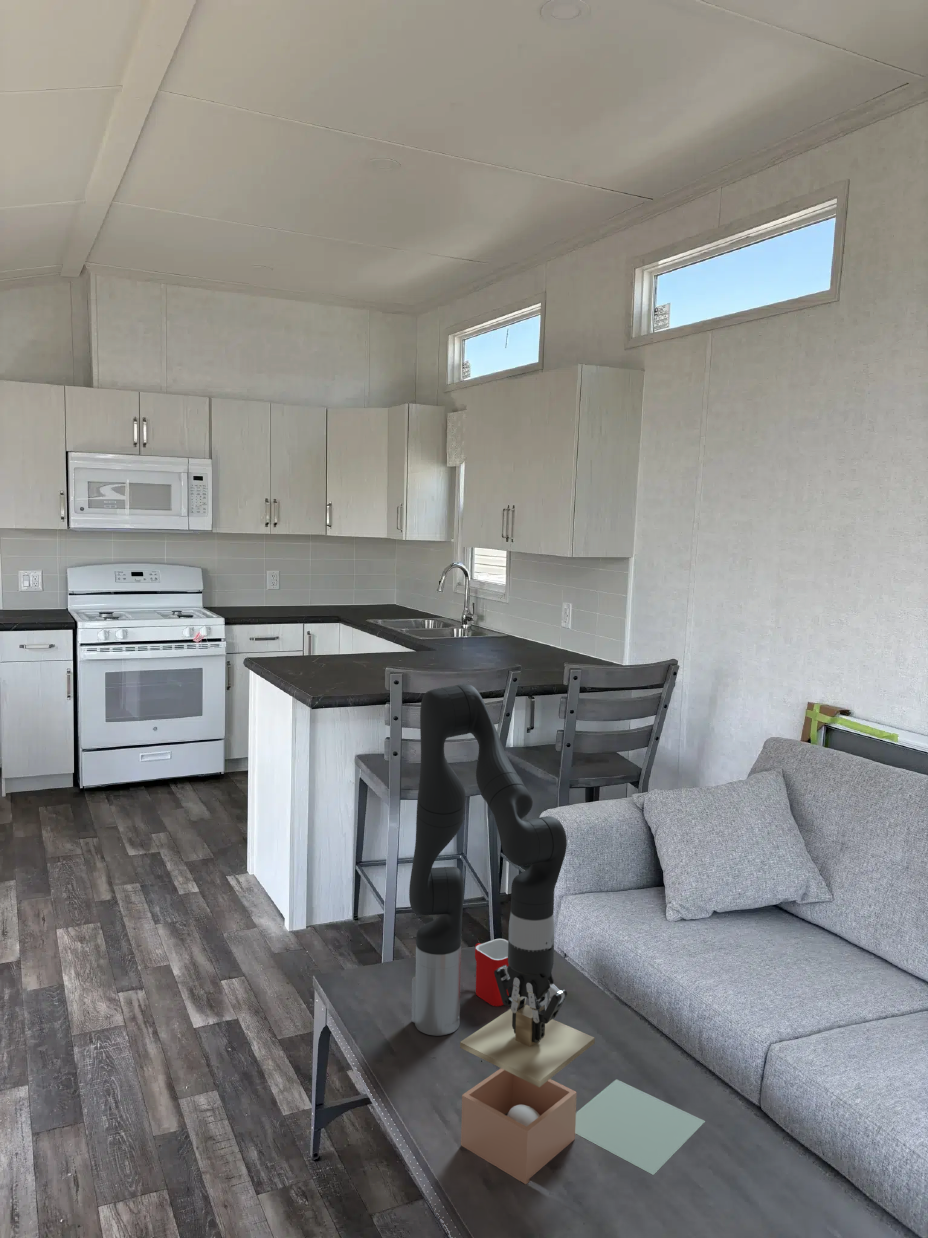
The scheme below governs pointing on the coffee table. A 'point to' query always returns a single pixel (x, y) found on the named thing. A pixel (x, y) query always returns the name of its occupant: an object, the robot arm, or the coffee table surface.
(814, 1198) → the coffee table surface
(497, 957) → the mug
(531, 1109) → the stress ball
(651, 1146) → the mat
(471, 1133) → the pink box
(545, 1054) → the lid
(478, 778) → the robot arm
